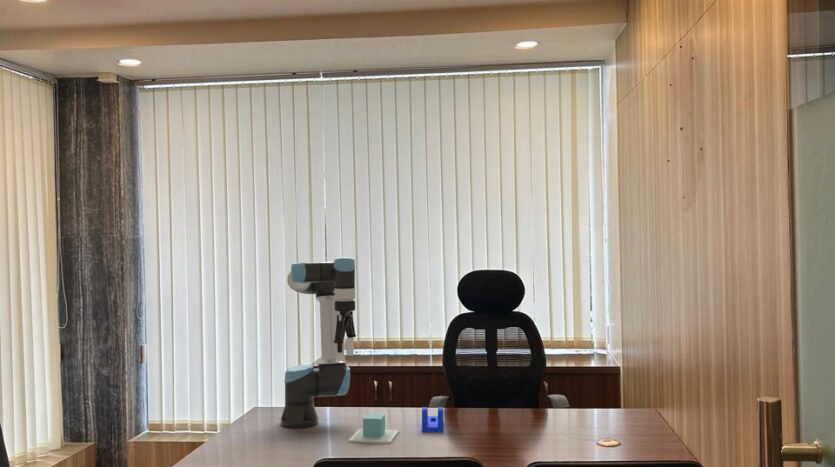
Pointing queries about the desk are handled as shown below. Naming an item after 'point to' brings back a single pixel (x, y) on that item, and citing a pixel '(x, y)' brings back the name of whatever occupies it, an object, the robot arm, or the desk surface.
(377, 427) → the cube
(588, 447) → the desk surface
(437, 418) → the bracket
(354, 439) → the white square tray
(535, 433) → the desk surface
